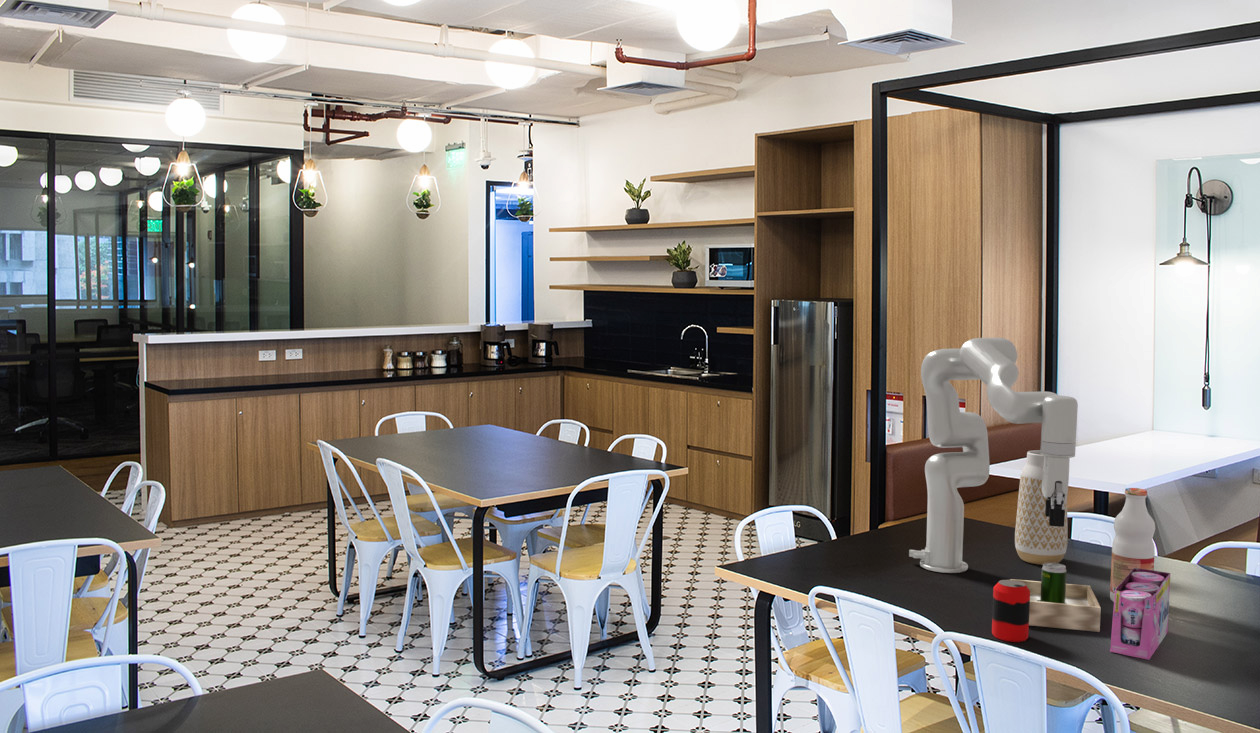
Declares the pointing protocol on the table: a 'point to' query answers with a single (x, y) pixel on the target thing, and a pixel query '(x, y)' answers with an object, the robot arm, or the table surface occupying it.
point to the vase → (1037, 518)
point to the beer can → (1053, 583)
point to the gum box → (1140, 613)
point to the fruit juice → (1132, 538)
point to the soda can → (1011, 611)
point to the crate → (1065, 608)
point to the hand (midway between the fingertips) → (1054, 521)
